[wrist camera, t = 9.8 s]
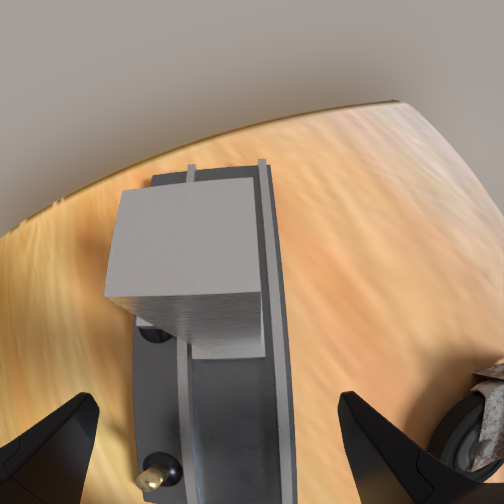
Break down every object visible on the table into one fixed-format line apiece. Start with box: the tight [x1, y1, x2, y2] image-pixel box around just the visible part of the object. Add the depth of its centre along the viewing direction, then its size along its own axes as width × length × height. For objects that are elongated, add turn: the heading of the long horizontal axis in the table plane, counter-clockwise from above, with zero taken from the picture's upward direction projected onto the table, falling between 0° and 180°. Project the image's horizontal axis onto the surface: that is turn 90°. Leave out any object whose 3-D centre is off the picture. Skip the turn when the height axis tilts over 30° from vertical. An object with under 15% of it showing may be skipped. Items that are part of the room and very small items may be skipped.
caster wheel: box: [428, 363, 504, 482], centre depth 11 cm, size 7×11×10 cm
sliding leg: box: [104, 177, 265, 360], centre depth 11 cm, size 4×7×11 cm, turn 93°
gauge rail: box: [133, 159, 298, 504], centre depth 16 cm, size 26×10×4 cm, turn 3°
